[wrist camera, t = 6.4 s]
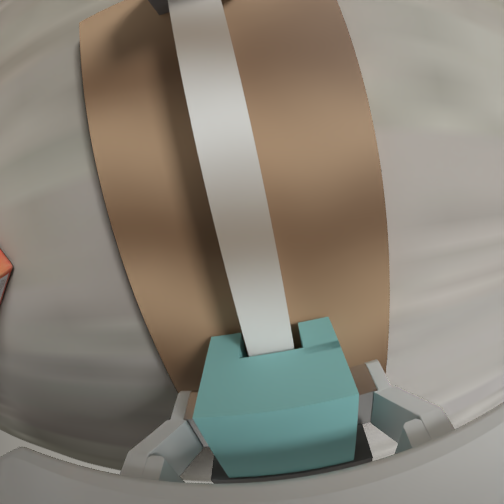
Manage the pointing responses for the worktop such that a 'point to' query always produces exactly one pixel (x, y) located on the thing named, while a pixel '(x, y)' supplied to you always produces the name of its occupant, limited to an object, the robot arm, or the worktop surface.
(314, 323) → the teal slider block
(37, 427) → the worktop surface
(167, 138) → the track
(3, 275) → the cracker box
